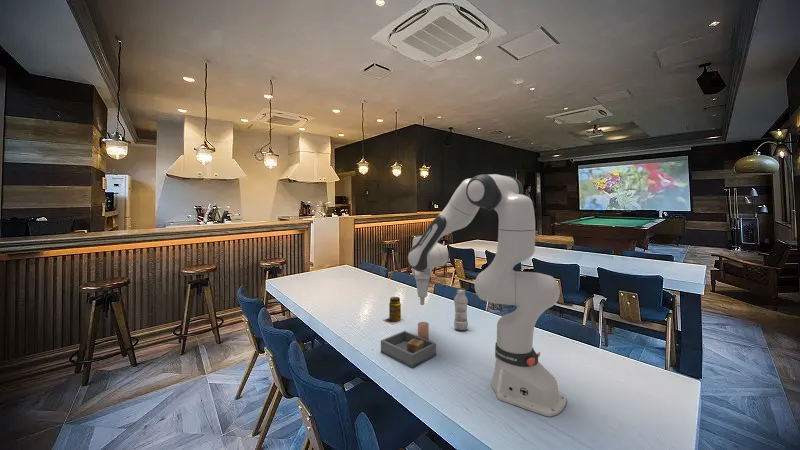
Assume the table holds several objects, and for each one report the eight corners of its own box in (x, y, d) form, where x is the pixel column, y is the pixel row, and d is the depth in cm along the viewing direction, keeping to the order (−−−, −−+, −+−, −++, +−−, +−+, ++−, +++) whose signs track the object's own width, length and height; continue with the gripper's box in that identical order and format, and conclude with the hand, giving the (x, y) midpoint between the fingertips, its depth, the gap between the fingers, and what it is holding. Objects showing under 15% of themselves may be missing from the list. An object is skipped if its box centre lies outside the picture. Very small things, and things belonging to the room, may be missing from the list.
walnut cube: (424, 353, 124) (424, 341, 124) (418, 358, 120) (418, 346, 119) (413, 350, 127) (413, 338, 126) (407, 355, 122) (407, 343, 122)
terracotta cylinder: (430, 338, 140) (431, 323, 139) (423, 342, 136) (423, 326, 136) (422, 335, 143) (422, 321, 143) (415, 338, 140) (415, 323, 139)
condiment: (404, 320, 163) (404, 298, 162) (392, 324, 157) (392, 301, 156) (394, 316, 168) (394, 295, 167) (383, 320, 162) (382, 298, 161)
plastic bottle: (468, 332, 146) (468, 291, 145) (453, 331, 148) (453, 290, 146) (467, 327, 153) (468, 287, 151) (454, 326, 154) (454, 287, 153)
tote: (436, 355, 124) (436, 343, 124) (412, 368, 114) (412, 355, 114) (404, 341, 137) (404, 330, 137) (380, 352, 127) (380, 340, 127)
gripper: (415, 265, 148) (415, 293, 149) (414, 276, 127) (414, 308, 128) (428, 265, 147) (428, 293, 148) (429, 276, 127) (430, 308, 128)
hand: (422, 300), depth 138 cm, fingers open, 8 cm apart
